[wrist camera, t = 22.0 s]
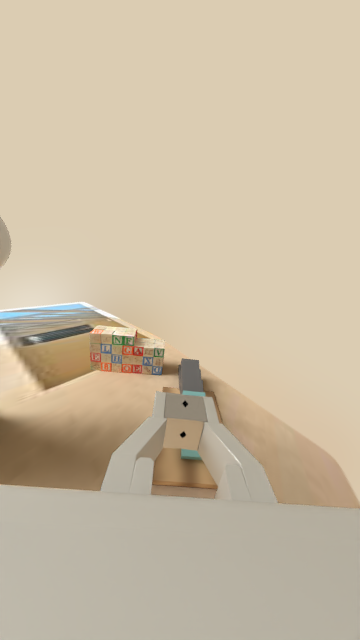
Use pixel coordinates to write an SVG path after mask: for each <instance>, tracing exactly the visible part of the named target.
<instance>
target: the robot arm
mask: <svg viewBox="0 0 360 640" xmlns="http://www.w3.org/2000/svg"><path fill="white" fill-rule="evenodd" d="M10 251H11V240H10V235H9V232H8V230H7V227H6V225H5V224H4V222H3V220H2V219H1V217H0V268H1V267H2V266H3V265H4V264H5V263H6V261H7V259H8V258H9V255H10ZM163 448H177V449H187V450H196V451H198V453H199V455H200V457H201V458H202V460H203V462H204V464H205V465H206V467H207V469H208V470H209V472H210V474H211V476H212V477H213V479H214V481H215V482H216V484H217V486H218V489H217V492H216V495H215V498H214V499H209V498H194V497H179V496H164V495H151V488H152V478H153V468H154V461H155V460H156V458H157V457H158V455H159V454H160V452H161V450H162V449H163ZM0 640H360V509H358V508H343V507H328V506H313V505H298V504H284V503H278V502H277V499H276V497H275V494H274V492H273V490H272V487H271V485H270V482H269V480H268V477H267V475H266V473H265V470H264V468H263V466H262V465H261V464H260V463H259V462H258V461H257V460H256V459H255V457H254V456H253V455H252V454H251V453H250V452H249V451H248V450H247V449H246V448H245V447H244V446H243V445H242V444H241V443H240V442H239V441H238V440H237V439H236V437H235V436H234V435H233V434H232V433H231V432H230V431H229V430H228V429H227V428H226V427H225V426H224V425H223V424H221V423H219V420H218V416H217V412H216V408H215V405H214V401H213V398H212V397H205V396H193V395H183V394H175V393H168V392H166V393H165V392H158V391H156V394H155V401H154V408H153V414H152V417H148V418H147V419H146V420H145V421H144V422H143V423H142V424H141V425H140V426H139V427H138V428H137V429H136V430H135V431H134V432H133V433H132V434H131V435H130V436H129V437H128V438H127V439H126V440H125V441H124V442H123V443H122V444H121V445H120V446H119V447H118V448H117V449H116V450H115V451H114V452H113V453H112V456H111V459H110V462H109V465H108V468H107V471H106V474H105V477H104V480H103V483H102V486H101V489H100V491H90V490H76V489H61V488H46V487H31V486H17V485H2V484H0Z"/></svg>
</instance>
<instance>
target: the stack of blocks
mask: <svg viewBox="0 0 360 640" xmlns="http://www.w3.org/2000/svg"><path fill="white" fill-rule="evenodd" d="M164 348H165V340H155V339H146V338H137V329H131V328H121V327H107V326H97V327H96V328H94V329H93V330H92V331H91V332H90V357H91V370H100V371H110V372H127V373H142V374H153V375H162V367H163V359H164Z"/></svg>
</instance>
